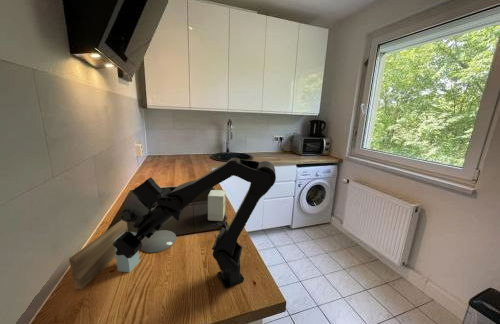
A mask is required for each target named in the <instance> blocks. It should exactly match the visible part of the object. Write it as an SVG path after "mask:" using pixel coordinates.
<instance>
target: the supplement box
mask: <svg viewBox="0 0 500 324" xmlns="http://www.w3.org/2000/svg"><path fill="white" fill-rule="evenodd" d="M225 214H226V190H221V189H219V190H218V189H217V190H215V189H211V190H210V191H209V193H208V195H207V220H208V221H212V222H213V221H215V222H223V221H224V217H225Z"/></svg>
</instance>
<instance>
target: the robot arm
mask: <svg viewBox="0 0 500 324" xmlns="http://www.w3.org/2000/svg"><path fill="white" fill-rule="evenodd" d="M233 176H234V177H238V178H240V179H241V180H244V181H246V182H248V183H250V184H249V187H248V190H247V192H246V193H245V196H244V197H243V199H242V201H241V203H240V205H239V207H238V209H237V211H236V213H235V215H234V216H233V217H232V218H233V220H232V222H231V224H230V225H229V227H228V228H226V227H223V226H222V227H221V228H220V231H219V234H217V235H216V237H215V240H214V243H213V245H212V248H211V250H212V251H213V252H212V257H213V259H214V260H215V261H216V263H217V265H218V268H219V270H220V271H218V272H217V273H216V274H217V277H218V278H219V280H220V282H221V284H222V286H223V288H224V289H229V288H231V287H233V286H235V285H237V284H240V283H242V282H244V281H245V278H244V277H243V275H242V274H241V256H242V251H243V247H242V245H241V244H239V242H238V239H239V237H240V235H241V234H242V232H243V230H244V228H245V227H246V226H245V224H246V225H247V223H248V221H249V219H250V217H251V215H252V214H253V212H254V210H255V208H256V207H257V204H258V202H259V201H260V199H261V198H262V197H263V196H265V195H266V194H268V192H269V191H270V190H271V188H272V187H273V186H274V185H275V183H276V179H277V178H276V177H277V175H276V168H275V166H274V164H273V163H271V162H269V161H267V160H264V161H263V160H262V161H258V160H257V161H256V160H251V159H243V158H242V159H241V158H239V157H232V158H230V159H228V161H226V162H225V163H223V164H221V165H219V166H218V167H216V168H214V169H213V170H210V171H209V172H208V173H206V174H204V175H202V176H201V177H199V178H197V179H195V180H191V181H187V182H184V183H182V184H179V185H178V186H174V187H173V186H171V187H170V186H169V187H166V188H165V189H164V190H163V188H162V187H161V186H160V185H158V184H157V182H156V181H155V179H153V178H152V177H148V178H147V179H145V181H143V182H142V183H141V184H139V185H138V186H136V187H135V188H134V189H132V191H131V194H132V195H133V196H134V197H135V198H136V199H137V200H138V201H139V202H140V203H141V204H140V203H139V202H137V201H133V202H131V203H129V204H128V205H126V206H125V207H124V209H123V210H122V211H121V212H119V213H120V214H119V215H120V221H121V220H123V221H125V222H127V224H129V223H130V222H131V223H134V224H132V226H133V227H134V228H135V229H136V230H137V234H136V235H135V236H134V235H133V234H132V233H131V232H132V231H128V232H125V233H123V234H122V235H121V236H120V237H119V238H118V239H116V240H115V241H114V242H113V246H114V247H115V248H117V251H116V254H117V255H118V256H119V255H124V256H125V257H126V258H131V257H132V256H134V255H135V254H136V253H137V252H138V251H140V250H141V249H140V248H141V247H142V242H141V240H142V239H143V238H144V237H145V236H146V237H147V238H148V239H149V238H150V237H151V236H152V235H153V234H154V233H155V232H156V231H160V230H161V228H162V227H164V225H165V224H166V223H168V222H169V221H170V220H171V219H172V218H174V219H175V220H176V221H177V222H179V221H180V220H181V218H182V217H183V216H184V215H185V214H184V209H185V208H186V207H188V205H190V204H191V203H192V202H193V201H194V200H195V199H196V198H197V197H198V196H200V195H201V194H203V193H205V192H207V191H209V190H210V189H212V188H213V187H215V186H217V185H219V184H221V183H223V182H224V181H226V180H228V179H229V178H231V177H233ZM142 204H143V205H142ZM156 204H157V205H156ZM154 205H155V206H154ZM153 206H154V207H153ZM148 207H151V209H148ZM244 226H245V227H244Z"/></svg>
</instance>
